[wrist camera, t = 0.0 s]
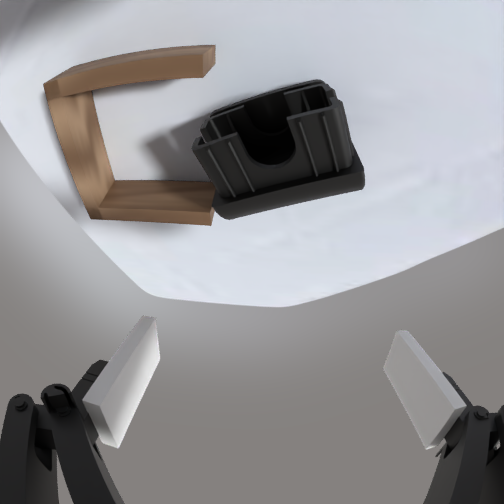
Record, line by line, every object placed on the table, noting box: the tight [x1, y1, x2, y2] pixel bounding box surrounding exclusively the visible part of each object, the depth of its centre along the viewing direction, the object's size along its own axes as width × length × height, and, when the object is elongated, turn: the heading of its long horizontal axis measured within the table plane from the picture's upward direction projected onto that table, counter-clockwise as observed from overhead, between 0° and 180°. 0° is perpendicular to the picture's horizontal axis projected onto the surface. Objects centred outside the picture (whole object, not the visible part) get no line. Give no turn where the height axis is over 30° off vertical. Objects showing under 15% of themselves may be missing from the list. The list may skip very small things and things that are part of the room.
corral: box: [43, 45, 216, 226], centre depth 19 cm, size 14×12×4 cm
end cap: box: [191, 80, 365, 220], centre depth 18 cm, size 10×7×7 cm
